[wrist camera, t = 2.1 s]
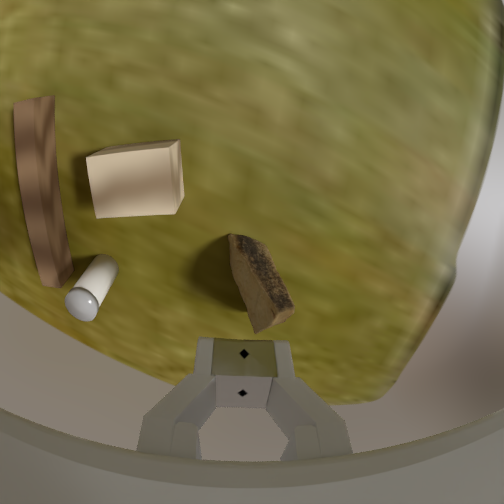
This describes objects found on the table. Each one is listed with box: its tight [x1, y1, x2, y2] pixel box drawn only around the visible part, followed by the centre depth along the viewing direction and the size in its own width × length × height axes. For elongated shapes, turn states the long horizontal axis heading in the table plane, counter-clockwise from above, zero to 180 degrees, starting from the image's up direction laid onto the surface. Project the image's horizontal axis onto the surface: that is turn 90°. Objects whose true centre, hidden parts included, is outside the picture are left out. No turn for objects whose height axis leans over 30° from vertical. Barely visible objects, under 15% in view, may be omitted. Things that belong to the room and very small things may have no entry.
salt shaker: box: [65, 254, 119, 321], centre depth 31 cm, size 4×4×8 cm
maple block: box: [86, 139, 184, 218], centre depth 27 cm, size 6×8×5 cm
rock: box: [228, 234, 295, 334], centre depth 33 cm, size 11×9×10 cm
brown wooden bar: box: [14, 95, 74, 288], centre depth 27 cm, size 22×3×4 cm, turn 175°
